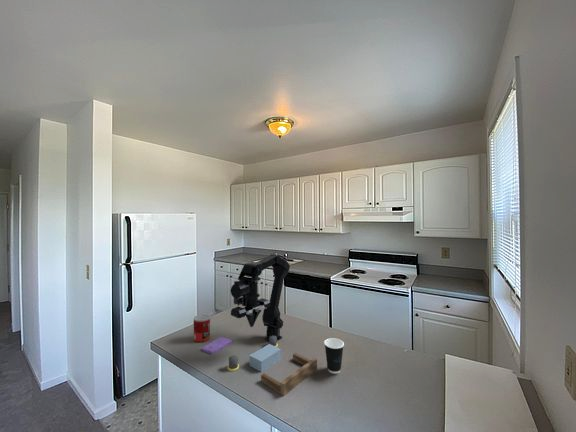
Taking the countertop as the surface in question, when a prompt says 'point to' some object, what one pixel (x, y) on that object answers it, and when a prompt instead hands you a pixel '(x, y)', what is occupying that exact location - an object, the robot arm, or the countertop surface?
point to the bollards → (234, 359)
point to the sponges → (216, 345)
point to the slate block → (265, 357)
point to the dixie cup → (334, 354)
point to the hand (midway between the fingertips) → (251, 326)
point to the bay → (295, 377)
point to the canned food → (201, 328)
